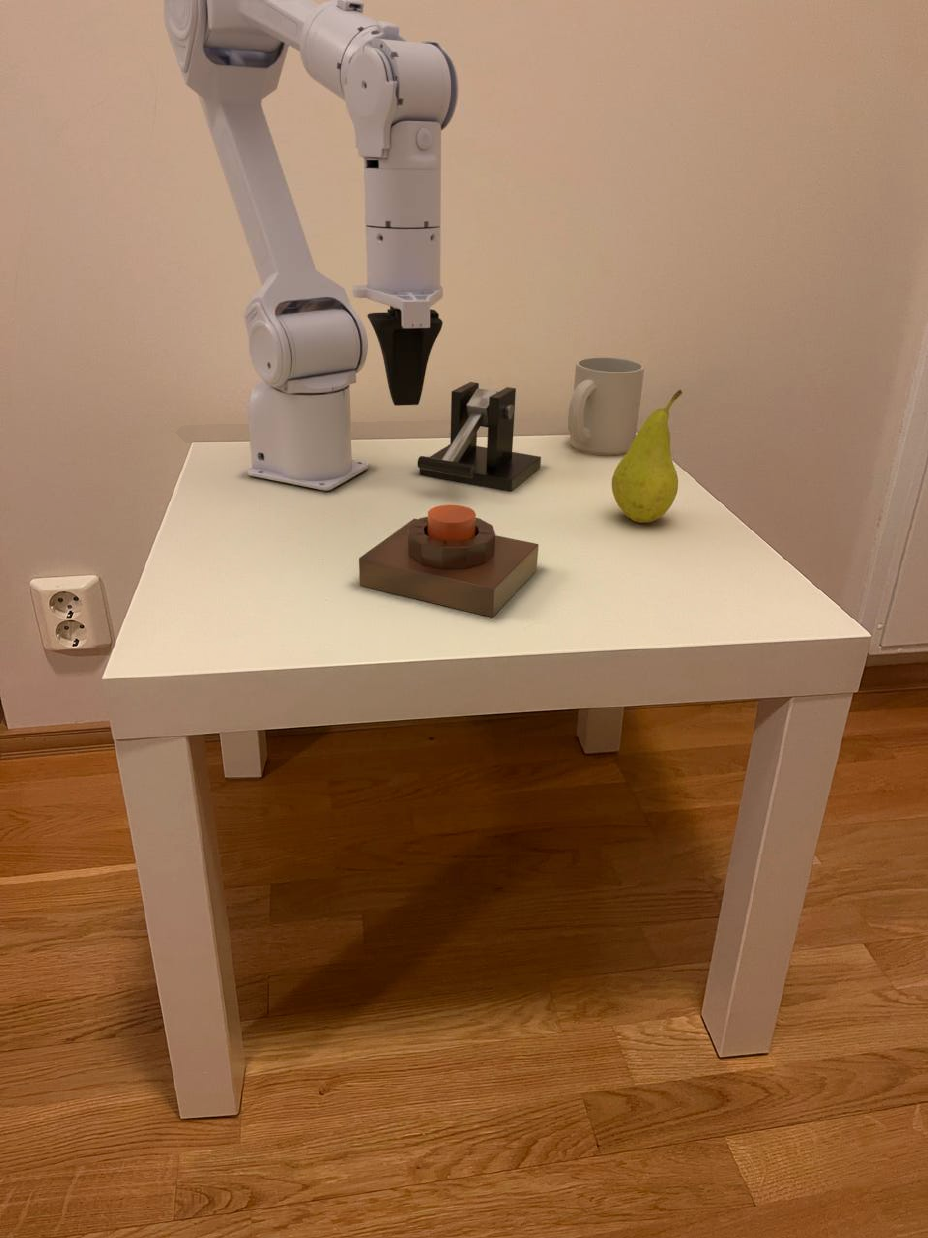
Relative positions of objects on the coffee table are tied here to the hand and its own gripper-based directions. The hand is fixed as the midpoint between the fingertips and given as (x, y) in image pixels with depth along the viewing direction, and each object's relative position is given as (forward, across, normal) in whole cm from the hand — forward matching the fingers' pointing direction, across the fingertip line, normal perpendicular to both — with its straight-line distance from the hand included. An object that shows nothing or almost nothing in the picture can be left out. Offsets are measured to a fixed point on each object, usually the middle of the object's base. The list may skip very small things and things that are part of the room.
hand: (405, 403), depth 76 cm
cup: (+10, -18, +23) cm, 31 cm away
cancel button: (+7, +12, +2) cm, 14 cm away
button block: (+11, +12, +2) cm, 16 cm away
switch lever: (+7, -10, +7) cm, 14 cm away
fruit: (+11, +2, +21) cm, 24 cm away
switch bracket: (+10, -12, +9) cm, 18 cm away
